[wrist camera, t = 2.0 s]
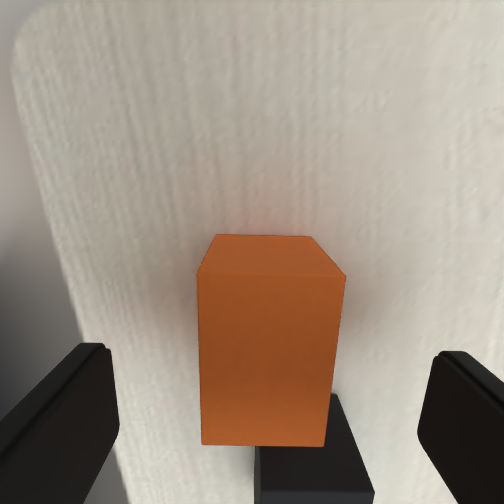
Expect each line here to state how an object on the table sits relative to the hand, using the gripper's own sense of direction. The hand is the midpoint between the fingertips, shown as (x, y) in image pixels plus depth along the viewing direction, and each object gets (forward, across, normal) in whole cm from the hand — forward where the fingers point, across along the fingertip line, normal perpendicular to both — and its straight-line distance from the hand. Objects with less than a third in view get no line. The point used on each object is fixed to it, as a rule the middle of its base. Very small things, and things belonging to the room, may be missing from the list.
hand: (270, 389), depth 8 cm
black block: (+5, -2, +7) cm, 9 cm away
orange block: (+5, 0, -1) cm, 5 cm away
